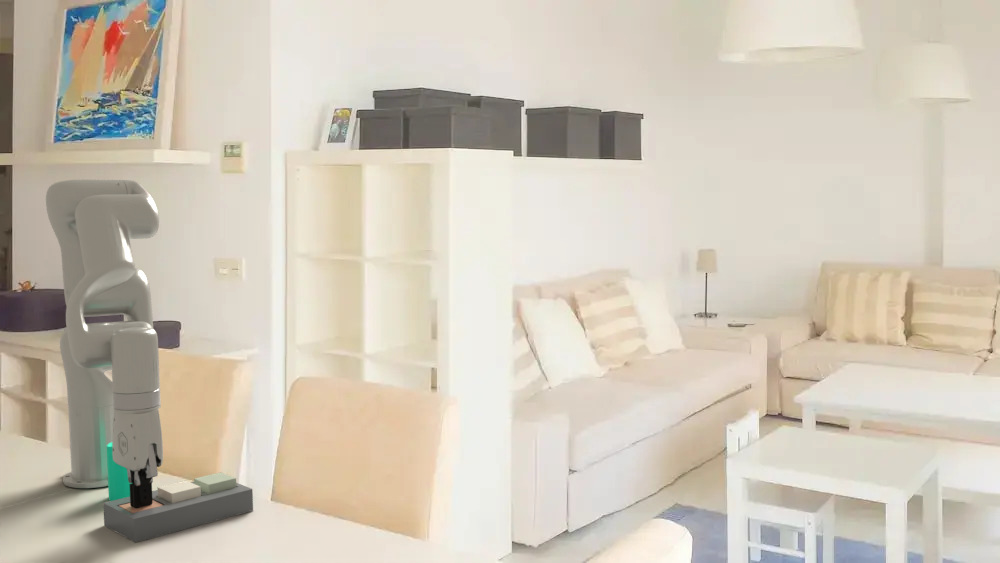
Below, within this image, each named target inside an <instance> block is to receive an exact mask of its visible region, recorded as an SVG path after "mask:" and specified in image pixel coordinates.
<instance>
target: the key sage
mask: <svg viewBox="0 0 1000 563" xmlns="http://www.w3.org/2000/svg"><path fill="white" fill-rule="evenodd" d="M193 482H194V484H195V485H198V486H200V487H201V491H202V492H205V493H207V494H212V493H216V492H220V491H224V490H228V489H232V488H236V483H237V477H235V476H232V475H230V474H226V473H224V472H222V471H221V472H217V473H212V474H208V475H203V476H199V477H196V478H193Z"/></svg>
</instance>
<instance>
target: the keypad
mask: <svg viewBox="0 0 1000 563" xmlns="http://www.w3.org/2000/svg"><path fill="white" fill-rule="evenodd" d="M190 482H191V483H193V484H194V481H190ZM253 495H254V494H253V488H251V487H249V486H245V485H243V484H241V483H238V482H236V488H232V489H228V490H224V491H220V492H216V493H212V494H207V493H205V492H202V491H201V496H200V497H196V498H192V499H188V500H184V501H180V502H175V503H169V502H167V501H165V500H163V499H161V498H159V497H158V489H156V490H152V500H154V501H156V502H158V503H160V504H162V505H163V506H159V507H155V508H151V509H147V510H143V511H139V512H135V513H131V512H129V511H127V510H125V509H123V508H121V507H119V506H120V505H124V504H128V503H130V497H126V498H122V499H117V500H113V501H110V500H109V501H105V502H103V503H102V504H103V505H102V506H103V524H104V525H103V526H104V527H107V528H108V529H110V530H112V531H114V532H116V533H118V534H120V535H121V536H123V537H125V538H126V539H129V540H130V541H132V542H133V543H139V542H142V541H147V540H150V539H153V538H158V537H161V536H163V535H168V534H171V533H174V532H175V533H176V532H179V531H182V530H187V529H190V528H194V527H198V526H201V525H205V524H209V523H212V522H216V521H219V520H224V519H227V518H231V517H235V516H237V515H241V514H245V513H249V512H252V511H254V503H253V502H254V500H253V499H254V497H253Z"/></svg>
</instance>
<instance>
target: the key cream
mask: <svg viewBox="0 0 1000 563" xmlns="http://www.w3.org/2000/svg"><path fill="white" fill-rule="evenodd" d="M191 482H192V481H188V480H183V481H179V482H178V481H177V482H174V483H169V484H164V485H161V486H157V489H156V490H158V497H159V498H161V499H163V500H165V501H167V502H169V503H175V502H180V501H184V500H188V499H192V498H196V497H200V496H201V487H200V486H198V485H195V484H193V483H191Z"/></svg>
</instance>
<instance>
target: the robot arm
mask: <svg viewBox="0 0 1000 563" xmlns="http://www.w3.org/2000/svg"><path fill="white" fill-rule="evenodd" d="M45 194H46V195H45V205H46V206H45V207H46V213H47V217H48V220H49V223H50V225H51V228H52V230H53V232H54V235H55V236H56V237H55V238H56V239H57V242H58V244H59V247H60V254H61V267H62V279H63V280H62V283H63V291H64V293H63V294H64V301H65V305H66V309H65V325H66V330H65V331H64V332H63V333H62V335H61V336H60V341H59V348H60V355H61V360H62V365H63V368H64V375H65V382H66V383H65V384H66V393H67V408H68V409H67V410H68V425H69V426H68V427H69V428H68V429H69V449H70V452H69V453H70V469H71V471H70V472H68V473H66V474H65V475H64V476H63V478H62V481H63V485H64V486H66V487H69V488H74V489H97V488H103V487H104V488H105V487H108V470H107V448H106V446H107V445H108V444H109V443H111V442H112V446H113V460H114V462H115V463H117V464H118V465H120V466H123V467H125V468H126V469H127V473H128V481H129V483H132V484H130V505H131V506H132V507H134V508H141V507H145V506H149V505H152V503H153V501H152V491H153V485H152V483H153V482H154V478H155V477H158V474H159V473H158V468H159V467H161V466H162V465H163V462H164V445H163V444H164V443H163V442H164V441H163V435H162V434H163V433H162V423H161V418H160V413H159V412H160V411H159V409H160V408H161V404H162V401H161V382H160V381H161V380H160V377H161V376H160V357H159V355H160V354H159V337H158V333H157V331H156V330H155V329H154V321H153V320H154V319H153V318H154V317H153V307H152V305H153V304H152V295H151V293H152V292H151V288H150V283H149V279H148V278H147V275H146V274H145V273H144V271H143V270H142V269H139V268H137V267H136V266H135V265H136V264H135V261H134V254H133V250H132V246H131V245H132V244H131V241H130V240H142V239H145V240H146V239H151V238H153V237H154V236H156V235H157V233H158V231H159V227H160V216H159V210H158V207H157V204H156V202H155V200H154V199H153V197H152V196H151V193H149V192H148V191H147V190H146V189H145V188H144V186H142V185H141V183H139V182H138V181H136V180H130V179H69V180H60V181H58V182H54V183H53V184H51V185H50V186H49V187H48V188H47V190H46V193H45ZM117 315H123V316H125V317H126V319H127V320H121V321H106V322H105V321H104V322H93V323H91V322H90V323H86V320H85V318H86V317H87V318H89V317H101V316H103V317H104V316H117ZM106 371H111V378H112V379H110V378H109V377H108V376H107V375H106V374H105V372H106Z"/></svg>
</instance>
